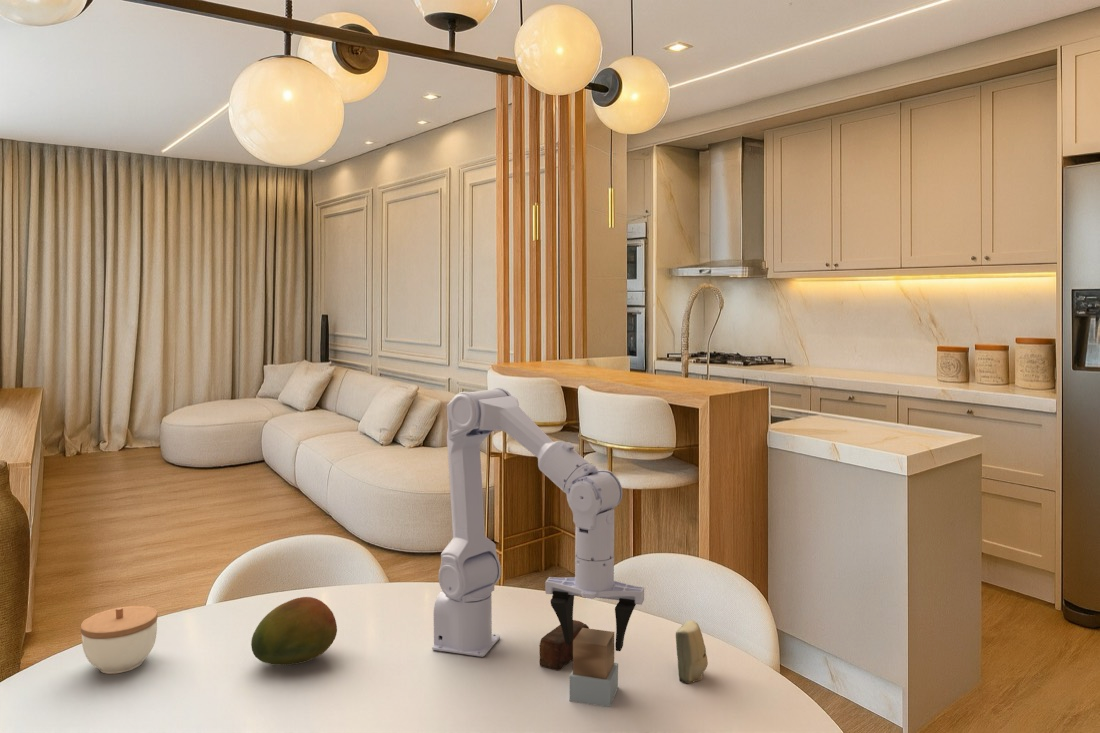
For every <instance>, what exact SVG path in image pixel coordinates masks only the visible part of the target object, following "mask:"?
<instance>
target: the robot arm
mask: <svg viewBox="0 0 1100 733" xmlns="http://www.w3.org/2000/svg"><path fill="white" fill-rule="evenodd" d="M446 413H447V414H446V415H447V416H446V417H447V430H446V431H447V432H446V446H447V447H446V448H447V461H448V462H447V463H448V465H447V466H448V475H449V476H448V479H449V493H450V495H449V496H450V512H451V526H452V527H451V528H452V539H451V540H450V541H449V542H448V544H447V545H446V546H445V548H444V549H443V550H442V552H441V553H440V566H439V570H438V577H437V578H438V583H439V586H440V589H441V591H440V592H439V593H438V594H437V597H436V598H435V602H434V606H433V645H432V646H431V649H432V650H433V651H437V652H438V651H439V652H444V653H446V652H447V653H451V654H452V653H453V654H460V655H468V656H472V657H473V656H474V657H481V658H482V657H485V656H486V655H487V654H488V653H489V651H490V650H491V649H492V648H493V647H494V646H495V645H496V643H497V642H498V641H499V640H500V639H501V636H500V635H501V634H496V633H493V632H492V631H493V628H492V627H493V626H492V625H493V623H492V622H493V621H492V618H493V617H492V615H493V614H492V609H493V608H492V603H493V602H492V597H493V596H492V593H493V592H494V591H495V584H497V583H498V582H499V580H500V578H501V575H502V566H501V562H500V559H499V557H498V554H497V545H496V543H495V542H494V541H492V540H491V539H489V538H488V537H487V536H486V528H485V527H486V526H485V513H484V512H485V510H484V493H483V492H484V491H483V480H482V479H483V476H482V461H481V460H482V459H481V448H480V446H481V444H482V443H483V442H484V441H485V440H486V439H487V437H488V436H490V434H492V432H494V431H498V432H500V431H502V432H504V433H505V434H507V435H508V437H509V436H510V437H511V439H513V440H514V441H515V442H517V443H518V444H520V446H522V447H523V448H525V449H526V450H527V451H529V453H530V454H531V455H534V456H535V457H536V458H537V466H538V470H539V471H540V472H541V473H542V474H544V475H545V477H547V478H548V479H549V480H550V481H551V482H553V484H554V485H555V486H556V487H558V488H559V489H560V490H561V491H562V492H563V493H565V495H566V501H567V505H568V507H569V508H570V510H571V512H572V516H573V517H572V519H573V520H572V521H573V522H572V523H574V526H575V528H574V529H575V531H574V532H575V533H574V534H575V536H574V538H575V539H574V541H575V542H574V543H575V544H574V545H575V546H574V547H575V548H574V550H575V551H574V555H575V556H574V572H575V573H574V577H573V576H572V577H571V576H569V577H554V576H549V577H547V579H546V580H545V582H544V583H545V588H544V590H545V592H544V593H545V594H546V595H552V596H551V598H550V606H551V608H552V609H553V611H554V613H555V614H556V617H557V619H558V622H559V625H561V628H562V631H563V635H564V640H565V644H570V643H571V641H572V639H573V620H574V604H575V601H574V600H575V596H579V597H582V598H584V599H591V600H592V599H605V600H613V601H618V602H617V604H616V605H615V608H614V613H615V630H616V631H615V633H616V634H615V642H614V648H615V651H616V652H621V651H622V649H623V647H624V640H625V635H626V631H627V627H628V624H629V621H630V618H631V616H632V613H633V612H634V610H635V608H636V605H641V606H643V603H644V601H645V587H644V586H637V585H633V584H628V583H624V582H620V581H616V580H615V508H617V507H618V506H619V505H620V503H621V501H622V498H623V486H622V484H621V481H620V480H619V478H618V477H617V476H616V475H615V473H614V472H612V471H610V470H607V469H599V468H597V467H596V465H595V464H594V463H592V462H588V460H586V459H585V458H584V457H583V456H582V455H581V454H579V453H578V452H577V451H576V450H575V446H574V445H573V444H572V443H571V441H568V442H565V441H563V440H556V441H553V440H552V439H551V438H550V436H548V435H547V434H546V433H545V432H544V431H543V429H541V428H540V426H538V425H537V424H536V423H535V422H534V421H533V419H531V417H530V416H529V415H528V414H526V412H525V411H523V409H521V407H520V404H519V400H518V398H517V397H515V396H514V395H512V394H511V393H510V392H509V391H508V390H507V389H505V388H503V387H502V388H501V387H497V388H493V389H486V390H476V391H468V392H467V391H460V392H458V393H456V394H455V395H454V396H453V397H452V399H450V401H449V402H448V403H447V404H446Z"/></svg>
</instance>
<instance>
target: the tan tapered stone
mask: <svg viewBox="0 0 1100 733" xmlns="http://www.w3.org/2000/svg"><path fill="white" fill-rule="evenodd" d="M700 627H701V626H700V625H699V623H698V622H696V621H695V620H692V619H690V620H686V621H685V622H684V624H683V625H681V626H680V627H679V628H678V629H677V630H676V631H675V643H676V644H675V645H676V646H675V647H676V656H677V657H676V659H677V669H678V670H677V671H678V678H679V682H682V683H685V684H692V683H694V682H697V681H698V682H699V681H701V680H702V679H703V676H704V675H703V674H704V673H705V672H706V670H707V668H708V663H709V662H708V655H707V650H706V649H707V647H706V645H705V640H704V637H703V633H702V631H701V628H700Z"/></svg>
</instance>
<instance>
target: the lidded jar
mask: <svg viewBox="0 0 1100 733" xmlns="http://www.w3.org/2000/svg"><path fill="white" fill-rule="evenodd" d="M79 627H80V634H81V643H82V649H83V653H84V655H85V657H86V659H87V661H88V662H89V663H90V664H91V666H93V667H95V668H96V669H98V670H99V672H101V673H103V674H107V675H116V674H122V673H126V672H129V671H132V670H134V669H136V668H139V667H140V666H141V665H142V664H143V663H144V660H145V659H147V657H148V656H149V655H150V654H151V652H152V650H153V649H154V646H155V643H156V640H157V633H158V632H157V631H158V611H157V610H156V609H155V608H153V607H151V606H146V605H129V606H128V605H126V606H119V607H114V608H111V609H106V610H103V611H100V612H97V613H95V614H93V615H91V616H89V617H87V618H86V619H84V620H83V621H82V623H81V624H80V626H79Z"/></svg>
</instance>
